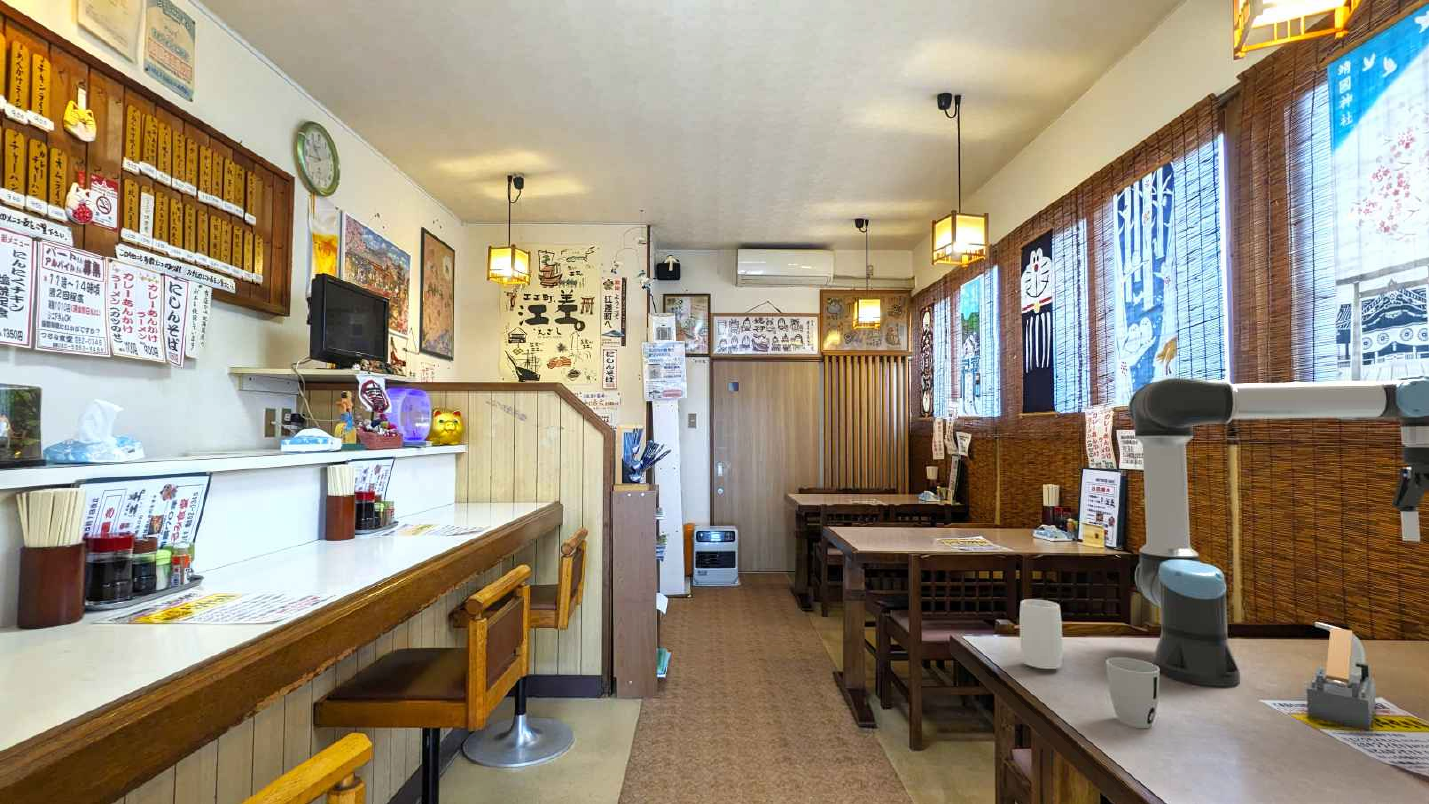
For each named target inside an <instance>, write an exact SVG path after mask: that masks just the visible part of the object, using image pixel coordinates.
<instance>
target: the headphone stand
mask: <svg viewBox="0 0 1429 804" xmlns="http://www.w3.org/2000/svg"><path fill="white" fill-rule="evenodd" d="M1314 626H1315V627H1316V628H1320V629H1324V630H1326V631H1328V632H1330V630H1331V628H1338V629H1342V628H1341V627H1337V626H1333V625H1330V624H1326V623H1322V622H1314ZM1343 629H1344V630H1346V629H1345V628H1343ZM1356 662H1357V663H1362V664H1366V652H1365V647H1364V646H1363V644H1362V641H1361V640H1360V639H1359V638H1358V636H1356V635H1355V634H1354V633H1353V632H1352V650H1351V665H1350V675H1355V676H1359V675H1361V667H1356Z"/></svg>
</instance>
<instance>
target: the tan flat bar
mask: <svg viewBox="0 0 1429 804" xmlns="http://www.w3.org/2000/svg"><path fill="white" fill-rule="evenodd" d="M1338 628H1339V627H1337V628H1331V630H1330V633H1329V641H1328V652H1327V661H1326V662H1327V663H1326V669H1327V671H1326V678H1327V679H1330V680H1335V681H1340V682H1345V683H1349V680H1350V665H1351V650H1352V633H1353V630H1349V629H1345V628H1341V629H1338ZM1344 629H1345V630H1344Z"/></svg>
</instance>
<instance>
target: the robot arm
mask: <svg viewBox="0 0 1429 804" xmlns="http://www.w3.org/2000/svg"><path fill="white" fill-rule="evenodd" d="M1128 414H1129V417H1130V418H1131V420H1132V422H1133V425H1134V438H1135V439H1136V440H1137V441H1139V443H1141V445H1142V461H1143V463H1142V464H1143V486H1144V487H1143V488H1144V509H1145V510H1144V513H1145V514H1144V515H1145V516H1144V517H1145V535H1146V536H1145V538H1146V543H1145V544H1144V545H1143V546H1142V547H1140V549H1139V563H1138V564H1137V566H1136V567H1135V568H1136V569H1135V571H1134V581H1135V585H1136V587H1137V589H1138V590H1139V592H1140V594H1142V596H1143V597H1144V598H1145V599H1146V600H1148V601H1149V602H1150V603H1151V604H1152V605H1155V606H1156V607H1159V608H1160V626H1161V629H1160V630H1161V633H1160V636H1159V640H1158V643H1157V644H1156V648H1155V651H1154V654H1153V656H1152V657H1153V658H1152V664H1154V665H1156V666H1157V667H1159V669H1160V673H1159V675H1162V676H1164V677H1165V676H1166V677H1168V678H1170V679H1173V680H1177V681H1181V682H1185V683H1189V684H1195V685H1199V686H1200V685H1201V686H1209V687H1234V686H1237V685H1239V684H1240V683H1241V675H1240V674H1241V672H1240V669H1239V666H1238V664H1237V661H1236V659H1235V657H1234V654H1233V651H1232V649H1231V648H1230V645H1229V639H1228V619H1227V618H1228V617H1227V616H1228V615H1227V614H1228V613H1227V584H1226V581H1225V575H1224V573H1223V571H1221V569H1219V568H1218V567H1216V566H1214V565H1212V564H1209V563H1203V562H1201V561H1200V559H1199V556H1200V555H1199V553H1198V552H1197V551H1196V550H1194V549H1193V548H1192V547H1191V538H1190V537H1191V536H1190V516H1189V512H1190V511H1189V510H1190V509H1189V492H1188V491H1189V489H1188V468H1187V467H1188V465H1187V443H1188V442H1190V441H1191V440H1192V439H1193V438H1194V427H1196V426H1202V425H1203V426H1204V425H1214V424H1228V423H1230V422H1231V421H1232V420H1236V419H1238V420H1239V419H1240V420H1241V419H1242V420H1243V419H1246V420H1247V419H1249V420H1250V419H1251V420H1253V419H1257V420H1258V419H1329V418H1330V419H1331V418H1332V419H1334V418H1335V419H1339V420H1350V421H1356V420H1357V421H1358V420H1359V421H1361V420H1365V421H1366V420H1400V421H1399V422H1400V435H1401V436H1400V438H1401V444H1402V445H1405V447H1403V448H1401V450H1402V452H1401V453H1402V462H1403V463H1404V464H1405V465H1411V467H1400V468H1399V478H1398V482H1397V485H1396V486H1397V487H1396V490H1395V493H1394V496H1393V500H1392V502H1391V504H1392V507H1393V508H1397V510H1398V511H1399V512H1400V519H1401V520H1400V521H1401V534H1402V536H1401V537H1402V541H1403V542H1405V541H1406V542H1421V534H1420V532H1421V531H1420V518H1419V516H1420V515H1419V511H1420V510H1419V509H1418V506H1419V504H1420V503H1421V500H1422V498H1423V497H1424V495H1425V494H1426V491H1429V374H1420V375H1419V374H1418V375H1407V376H1401V377H1399V379H1398V380H1379V381H1374V380H1373V381H1371V380H1370V381H1366V380H1364V381H1324V382H1323V381H1322V382H1321V381H1320V382H1318V381H1317V382H1316V381H1315V382H1284V383H1283V382H1278V383H1277V382H1275V383H1272V382H1271V383H1270V382H1269V383H1268V382H1267V383H1235V384H1234V383H1231V382H1230V381H1229V380H1227V379H1195V378H1186V377H1183V378H1182V377H1181V378H1180V377H1172V378H1166V379H1163V380H1158V381H1153V382H1150V383H1146V384H1144V385H1143V386H1141V387H1139V389H1137V390H1136V391H1135V392H1134V393H1133V395H1132V396H1131V398H1130V399H1129V402H1128Z"/></svg>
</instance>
